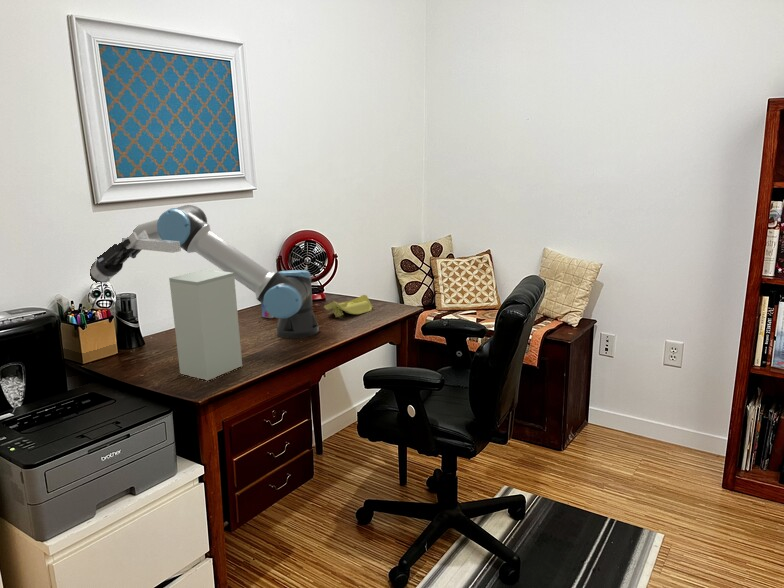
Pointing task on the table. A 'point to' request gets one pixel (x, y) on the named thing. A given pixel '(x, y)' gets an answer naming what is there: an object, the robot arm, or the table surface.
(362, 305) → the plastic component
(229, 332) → the pedestal
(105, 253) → the robot arm
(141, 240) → the rail bar
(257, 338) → the table surface
